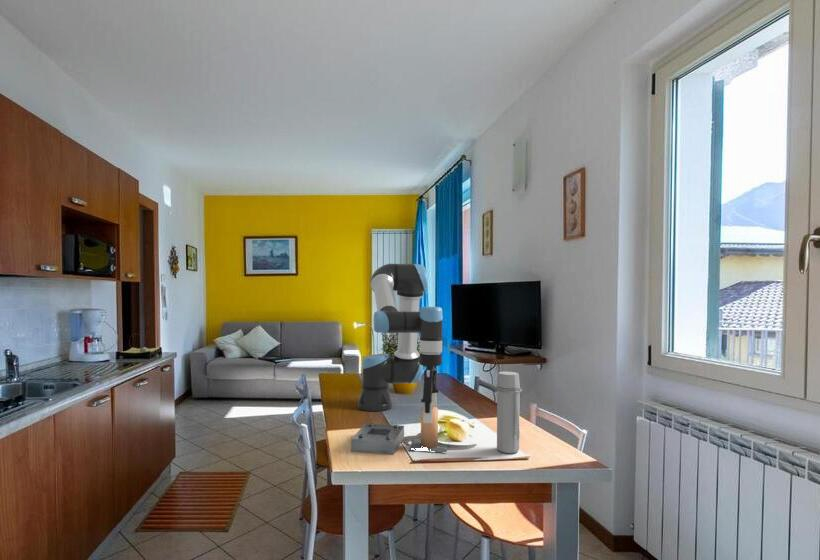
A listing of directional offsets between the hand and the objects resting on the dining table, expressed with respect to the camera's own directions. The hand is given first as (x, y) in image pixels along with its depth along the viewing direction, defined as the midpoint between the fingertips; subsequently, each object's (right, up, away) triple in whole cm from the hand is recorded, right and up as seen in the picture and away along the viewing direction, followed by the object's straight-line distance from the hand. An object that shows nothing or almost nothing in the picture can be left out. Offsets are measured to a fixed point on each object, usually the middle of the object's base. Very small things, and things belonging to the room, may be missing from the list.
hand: (429, 417), depth 152 cm
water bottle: (+26, -10, -4) cm, 28 cm away
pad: (0, -10, 0) cm, 10 cm away
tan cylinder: (0, -9, 0) cm, 9 cm away
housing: (-17, -9, +1) cm, 20 cm away
